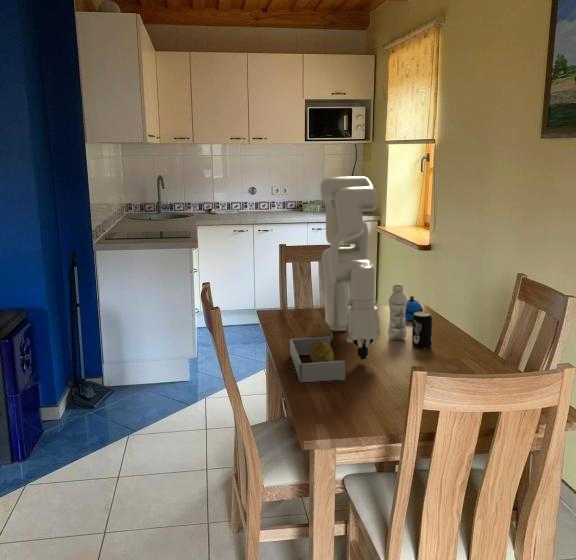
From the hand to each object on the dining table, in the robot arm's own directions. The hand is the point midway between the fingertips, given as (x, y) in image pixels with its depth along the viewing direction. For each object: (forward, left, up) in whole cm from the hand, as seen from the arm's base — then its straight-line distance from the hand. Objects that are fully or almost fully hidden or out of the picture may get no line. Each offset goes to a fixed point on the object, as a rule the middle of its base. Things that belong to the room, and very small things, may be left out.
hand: (362, 357), depth 181 cm
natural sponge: (-20, -11, -2) cm, 23 cm away
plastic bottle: (-21, +18, -2) cm, 27 cm away
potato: (+1, -14, -2) cm, 14 cm away
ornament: (-43, +31, -2) cm, 53 cm away
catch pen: (0, -15, -2) cm, 16 cm away
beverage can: (-12, +24, -2) cm, 27 cm away
